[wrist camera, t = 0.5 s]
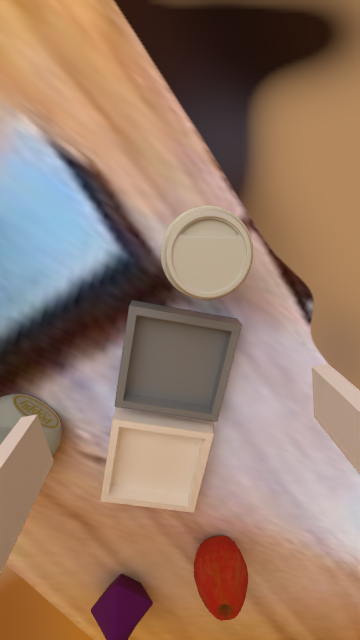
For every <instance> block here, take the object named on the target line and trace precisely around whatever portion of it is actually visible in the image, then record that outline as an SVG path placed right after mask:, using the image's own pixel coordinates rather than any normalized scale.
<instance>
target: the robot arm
mask: <svg viewBox="0 0 360 640" xmlns="http://www.w3.org/2000/svg"><path fill="white" fill-rule="evenodd" d="M312 376H313V398H314V417H315V418H316V420H317V421H318V422H319V423H320V425H321V426H322V427H323V429H324V430H325V431H326V432H327V434H328V435H329V436H330V437H331V439H332V440H333V441H334V442H335V444H336V445H337V446H338V448H339V449H340V450H341V451H342V453H343V454H344V455H345V456H346V458H347V459H348V460H349V461H350V463H351V464H352V465H353V467H354V468H355V469H356V470H357V472H358V473H359V474H360V391H359V390H358V389H357V388H356V387H354V385H352V384H351V383H350V382H349V381H348V380H346V379H345V378H344V377H343V376H342V375H340V374H339V373H338V372H337V371H336V370H335V369H333V368H332V367H331V366H330V365H329V364H326V365H321V366H315V367H312ZM53 463H54V460H53V458H52V455H51V452H50V449H49V446H48V443H47V440H46V438H45V435H44V432H43V429H42V426H41V423H40V420H39V418H38V415H31V416H25V417H21V418H20V420H19V421H18V422H17V424H16V425H15V426H14V428H13V429H12V430H11V432H10V433H9V434H8V436H7V437H6V438H5V439H4V441H3V442H2V443H1V445H0V574H1V572H2V570H3V568H4V566H5V564H6V561H7V559H8V557H9V555H10V553H11V551H12V549H13V547H14V545H15V543H16V540H17V538H18V536H19V534H20V532H21V530H22V528H23V526H24V524H25V522H26V519H27V517H28V515H29V513H30V511H31V509H32V507H33V505H34V503H35V501H36V498H37V496H38V494H39V492H40V490H41V488H42V486H43V484H44V482H45V480H46V477H47V475H48V473H49V471H50V469H51V467H52V465H53Z"/></svg>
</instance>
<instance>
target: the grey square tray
mask: <svg viewBox="0 0 360 640" xmlns="http://www.w3.org/2000/svg"><path fill="white" fill-rule="evenodd" d="M241 326H242V325H241V324H240V322H239V321H238V320H237V319H235V318H230V317H224V316H218V315H213V314H207V313H201V312H196V311H190V310H184V309H179V308H173V307H167V306H162V305H156V304H150V303H145V302H139V301H133V300H132V302H131V304H130V305H129V312H128V319H127V325H126V332H125V339H124V346H123V352H122V359H121V366H120V373H119V379H118V386H117V393H116V400H115V406H114V407H121V408H128V409H135V410H141V411H148V412H155V413H162V414H168V415H175V416H182V417H189V418H195V419H202V420H209V421H216V422H217V420H218V416H219V412H220V408H221V404H222V400H223V396H224V392H225V389H226V385H227V381H228V377H229V373H230V369H231V365H232V361H233V357H234V353H235V349H236V345H237V342H238V338H239V334H240V330H241Z"/></svg>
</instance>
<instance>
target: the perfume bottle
mask: <svg viewBox="0 0 360 640" xmlns="http://www.w3.org/2000/svg"><path fill="white" fill-rule="evenodd" d="M152 603H153V602H152V600H151V599H150V597H149V596H148V594H147V593H146V591H145V590H144V588H143V586H142V585H141V583H139V582H137V581H135V580H133V579H131V578H129V577H127V576H125V575H124V574H120V575H119V576H118V577H117V578H116V579H115V581H114V582H113V583H112V584H111V585H110V586H109V587H108V588H107V589H106V591H105V592H104V593H103V594H102V596H101V597H100V598H99V600H98V601H97V602H96V603H95V605H94V606H93V607H92V609H91V613H92V614H93V616H94V618H95V620H96V621H97V623H98V625H99V627H100V628H101V630H102V632H103V634H104V636H105V638H106V640H128V638H129V636H130V634H131V633H132V631H133V630H134V628H135V627H136V625H137V624H138V622H139V621H140V620H141V618H142V617H143V616H144V614H145V613H146V612H147V611H148V609H149V608H150V607H151V605H152Z"/></svg>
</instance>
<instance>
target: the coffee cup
mask: <svg viewBox="0 0 360 640" xmlns="http://www.w3.org/2000/svg"><path fill="white" fill-rule="evenodd" d="M252 259H253V244H252V240H251V236H250V234H249V232H248V230H247V228H246V226H245V225H244V223H243V222H242V221H241V220H240V219H239V218H238V217H237V216H236V215H235V214H233V213H232V212H230V211H228V210H226V209H224V208H221V207H217V206H199V207H195V208H192V209H189V210H187V211H185V212H184V213H182V214H181V215H179V216H178V217H177V218H176V219H175V220H174V221H173V222H172V223H171V225H170V226H169V227H168V229H167V231H166V233H165V235H164V238H163V241H162V245H161V262H162V266H163V270H164V272H165V274H166V276H167V278H168V280H169V281H170V282H171V284H172V285H173V286H174V287H175V288H176V289H177V290H179V291H180V292H182V293H183V294H185V295H187V296H190V297H193V298H196V299H202V300H210V299H216V298H220V297H223V296H225V295H227V294H229V293H231V292H232V291H234V290H235V289H236V288H237V287H238V286H239V285H240V284H241V283H242V282H243V281H244V279H245V278H246V276H247V274H248V272H249V270H250V267H251V264H252Z"/></svg>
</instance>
